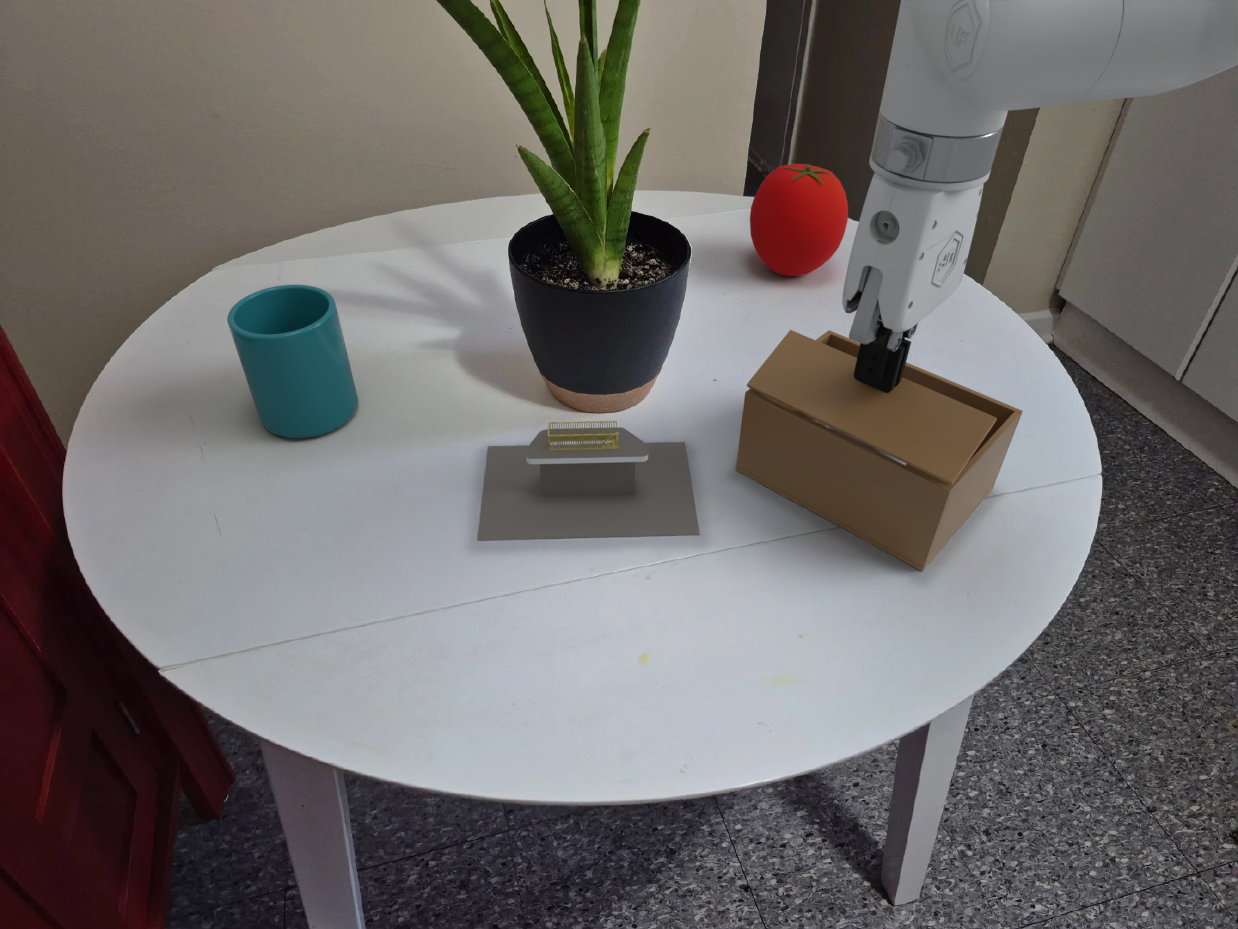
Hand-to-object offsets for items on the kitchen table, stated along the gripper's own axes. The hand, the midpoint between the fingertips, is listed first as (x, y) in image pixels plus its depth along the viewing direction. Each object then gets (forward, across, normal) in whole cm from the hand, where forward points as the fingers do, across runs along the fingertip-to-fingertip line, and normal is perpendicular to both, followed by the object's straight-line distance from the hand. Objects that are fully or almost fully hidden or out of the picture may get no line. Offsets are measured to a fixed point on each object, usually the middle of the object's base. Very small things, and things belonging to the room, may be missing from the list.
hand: (876, 381), depth 67 cm
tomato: (+12, +30, +26) cm, 42 cm away
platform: (+12, -15, +17) cm, 25 cm away
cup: (+12, -24, +45) cm, 52 cm away
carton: (+12, +2, 0) cm, 12 cm away
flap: (+1, -1, 0) cm, 2 cm away
